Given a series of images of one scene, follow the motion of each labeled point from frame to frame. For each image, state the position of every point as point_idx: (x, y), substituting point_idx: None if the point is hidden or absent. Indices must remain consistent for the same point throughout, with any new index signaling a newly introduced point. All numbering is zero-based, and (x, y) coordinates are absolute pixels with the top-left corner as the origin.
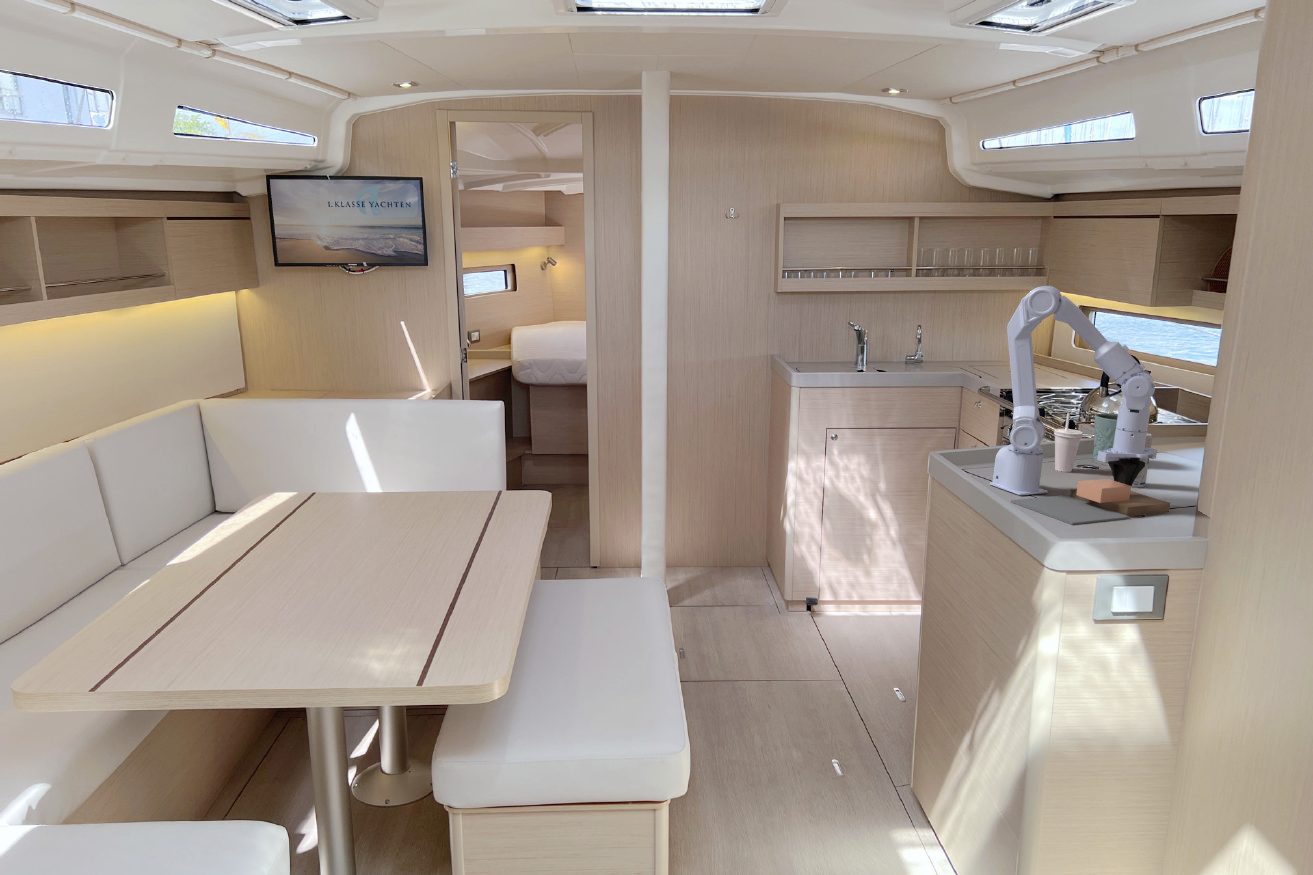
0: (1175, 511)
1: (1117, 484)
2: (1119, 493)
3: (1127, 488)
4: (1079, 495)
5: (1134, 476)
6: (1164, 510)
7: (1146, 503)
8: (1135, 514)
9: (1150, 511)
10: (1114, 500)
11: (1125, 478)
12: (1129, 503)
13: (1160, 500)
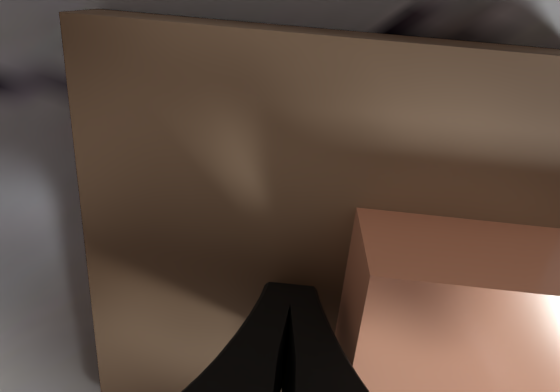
0: (18, 10)
1: (448, 356)
2: (504, 254)
3: (415, 268)
4: None
5: (241, 378)
6: (146, 14)
7: (305, 86)
8: (478, 42)
9: (308, 29)
10: (528, 229)
11: (365, 387)
12: (459, 142)
13: (85, 105)
